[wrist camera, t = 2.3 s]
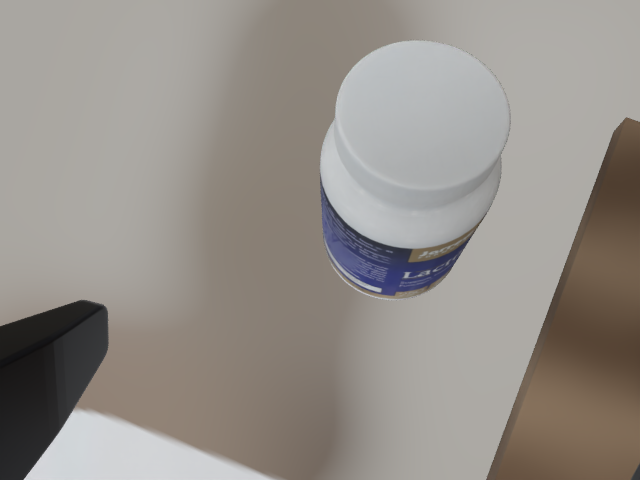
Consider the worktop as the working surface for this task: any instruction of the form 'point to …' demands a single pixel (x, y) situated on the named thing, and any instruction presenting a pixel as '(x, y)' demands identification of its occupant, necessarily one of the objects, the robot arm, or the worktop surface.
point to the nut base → (587, 344)
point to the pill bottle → (410, 165)
